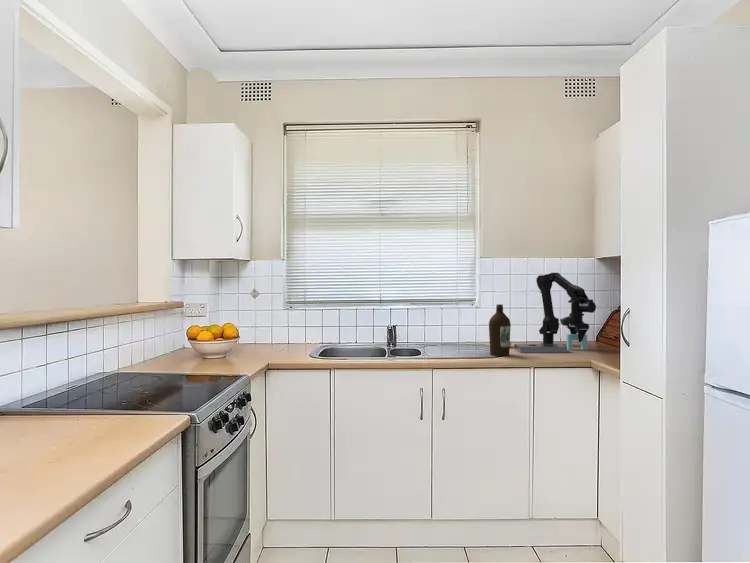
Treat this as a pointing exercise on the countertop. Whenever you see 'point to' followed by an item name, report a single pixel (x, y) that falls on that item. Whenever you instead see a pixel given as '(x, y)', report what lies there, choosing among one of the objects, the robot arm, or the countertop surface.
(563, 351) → the rail plate
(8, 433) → the countertop surface
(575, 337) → the clip
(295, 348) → the countertop surface
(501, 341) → the olive oil
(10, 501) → the countertop surface
